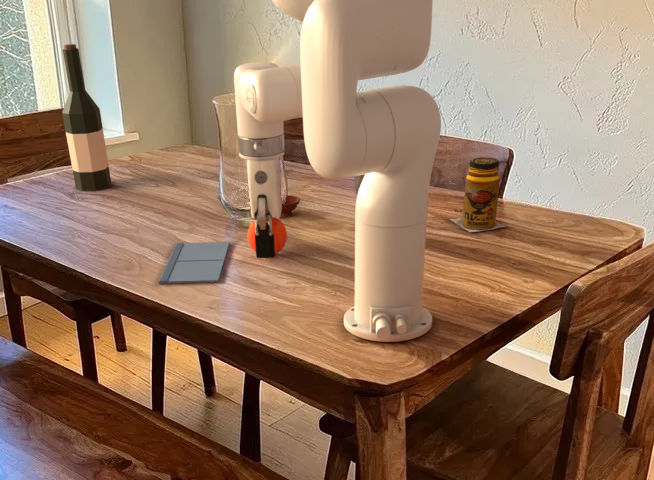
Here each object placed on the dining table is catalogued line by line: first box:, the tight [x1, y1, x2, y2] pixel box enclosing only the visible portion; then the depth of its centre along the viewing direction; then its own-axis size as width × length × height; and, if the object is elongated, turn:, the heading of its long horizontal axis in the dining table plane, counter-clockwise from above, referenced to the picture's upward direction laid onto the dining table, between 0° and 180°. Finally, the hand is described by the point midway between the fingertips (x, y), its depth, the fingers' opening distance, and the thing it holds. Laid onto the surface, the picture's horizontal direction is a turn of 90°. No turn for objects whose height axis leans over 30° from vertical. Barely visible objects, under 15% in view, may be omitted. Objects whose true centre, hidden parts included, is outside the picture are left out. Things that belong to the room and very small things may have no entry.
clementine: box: [247, 215, 288, 255], centre depth 138 cm, size 8×7×7 cm
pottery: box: [217, 194, 301, 218], centre depth 162 cm, size 12×20×4 cm, turn 48°
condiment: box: [449, 156, 506, 233], centre depth 146 cm, size 7×8×12 cm
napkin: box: [158, 241, 231, 285], centre depth 138 cm, size 19×10×1 cm, turn 177°
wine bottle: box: [61, 43, 112, 192], centre depth 177 cm, size 8×8×30 cm
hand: (267, 248), depth 139 cm, fingers closed on clementine, 8 cm apart
